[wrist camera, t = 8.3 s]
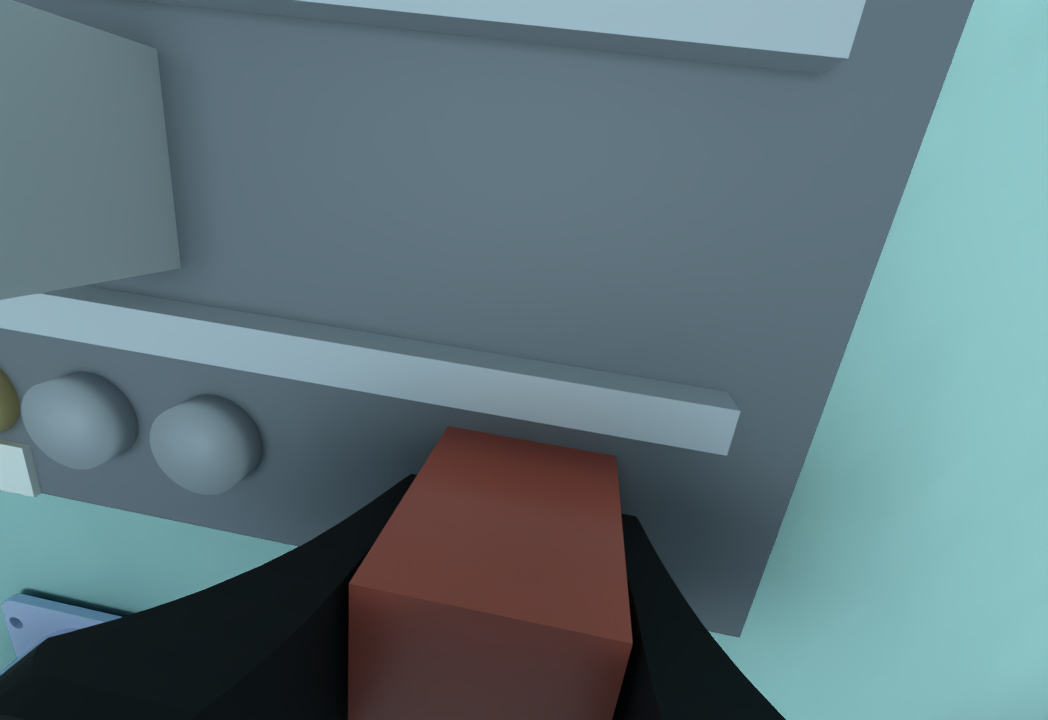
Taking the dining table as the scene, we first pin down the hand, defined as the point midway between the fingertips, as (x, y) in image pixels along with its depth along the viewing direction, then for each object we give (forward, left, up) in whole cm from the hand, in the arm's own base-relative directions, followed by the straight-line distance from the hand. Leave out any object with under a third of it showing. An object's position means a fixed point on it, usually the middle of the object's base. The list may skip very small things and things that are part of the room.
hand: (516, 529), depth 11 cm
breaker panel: (+4, +6, -2) cm, 8 cm away
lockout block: (0, 0, -1) cm, 1 cm away
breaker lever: (+7, +10, -1) cm, 12 cm away
